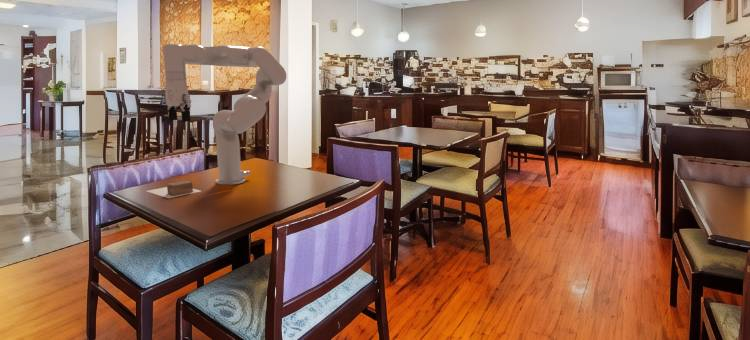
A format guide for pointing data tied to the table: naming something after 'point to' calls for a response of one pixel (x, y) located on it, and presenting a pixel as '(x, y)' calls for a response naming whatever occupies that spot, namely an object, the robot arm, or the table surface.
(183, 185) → the brown block
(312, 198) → the table surface
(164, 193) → the mat
